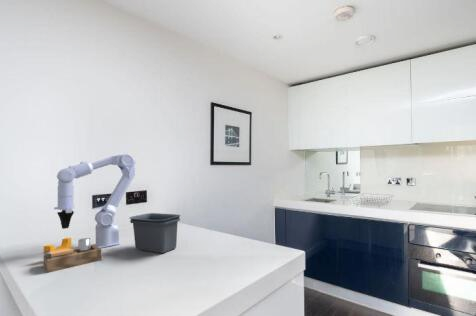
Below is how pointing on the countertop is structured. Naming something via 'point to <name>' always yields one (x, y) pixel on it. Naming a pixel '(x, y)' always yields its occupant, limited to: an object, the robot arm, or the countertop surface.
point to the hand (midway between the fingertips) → (65, 228)
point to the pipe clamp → (65, 244)
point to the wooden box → (71, 259)
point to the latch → (60, 252)
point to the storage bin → (155, 231)
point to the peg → (83, 245)
